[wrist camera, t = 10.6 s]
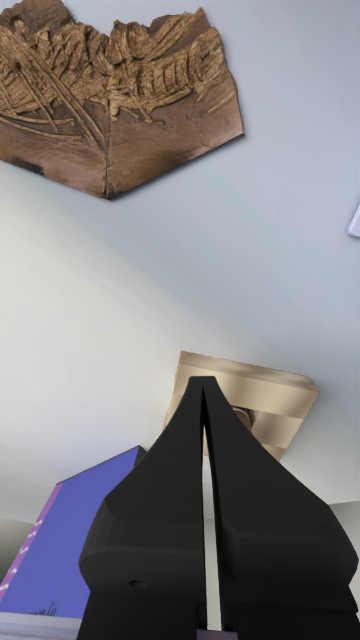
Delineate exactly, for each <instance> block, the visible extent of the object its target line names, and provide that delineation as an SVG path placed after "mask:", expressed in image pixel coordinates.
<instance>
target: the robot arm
mask: <svg viewBox="0 0 360 640" xmlns="http://www.w3.org/2000/svg"><path fill="white" fill-rule="evenodd" d="M348 234H349V235H351V236H355V237H359V238H360V204H359V207H358V209H357V211H356V213H355V215H354V217H353V219H352V222H351V224H350V226H349V228H348ZM204 427H205V434H206V441H207V447H208V454H209V461H210V468H211V476H212V488H213V503H214V518H215V532H216V547H217V563H218V579H219V595H220V611H221V627H222V631H215V630H207V598H206V571H205V545H204V544H205V543H204V515H203V487H202V466H203V442H204ZM358 561H359V559H358V556H357V554H356V551H355V550H354V548H353V545H352V543H351V541H350V540H349V538H348V536H347V534H346V532H345V531H344V529H343V528H342V526H341V524H340V523H339V521H338V520H337V518H336V516H335V515H334V513H333V512H332V510H331V509H330V507H329V505H327V504H326V503H325V502H324V501H323V500H321V499H320V498H319V497H318V496H317V495H315V494H314V493H313V492H312V491H310V490H309V489H308V488H307V487H306V486H304V485H303V484H302V483H301V482H300V481H299V480H298V479H296V478H295V477H294V476H293V475H292V474H291V473H290V472H289V471H288V470H287V469H285V468H284V467H283V466H282V465H281V464H280V463H279V462H278V461H277V460H276V459H275V458H274V457H273V456H272V455H271V454H270V453H269V452H268V451H267V450H266V449H265V448H264V447H263V446H262V444H261V443H260V442H259V441H258V440H257V439H256V438H255V437H254V436H253V434H252V433H251V432H250V431H249V430H248V428H247V427H246V426H245V425H244V423H243V422H242V421H241V419H240V418H239V417H238V415H237V414H236V412H235V411H234V410H233V408H232V407H231V405H230V403H229V402H228V400H227V399H226V397H225V395H224V394H223V392H222V390H221V388H220V386H219V384H218V382H217V380H216V377H215V376H190V377H189V380H188V384H187V387H186V389H185V392H184V394H183V396H182V399H181V401H180V403H179V405H178V407H177V409H176V411H175V412H174V414H173V416H172V418H171V419H170V421H169V423H168V424H167V426H166V427H165V429H164V430H163V432H162V433H161V435H160V436H159V438H158V439H157V440H156V442H155V443H154V444H153V446H152V447H151V448H150V449H149V451H148V452H147V453H146V454H145V455H144V457H143V458H142V459H141V460H140V461H139V462H138V463H137V465H136V466H135V467H134V468H133V469H132V470H131V471H130V472H129V473H128V474H127V476H126V477H125V478H123V479H122V480H121V481H120V482H119V483H118V484H117V485H116V486H115V487H114V488H113V489H112V490H111V491H110V492H109V493H108V494H107V495H106V496H105V497H104V499H103V501H102V503H101V505H100V507H99V509H98V511H97V513H96V515H95V517H94V520H93V522H92V524H91V526H90V529H89V531H88V534H87V537H86V540H85V543H84V546H83V549H82V552H81V555H80V557H79V561H78V565H79V569H80V573H81V575H82V577H83V579H84V581H85V582H86V584H87V586H88V588H89V590H90V594H89V598H88V601H87V604H86V608H85V611H84V615H83V618H82V619H77V618H65V617H54V616H42V615H31V614H19V613H8V612H0V640H360V622H359V619H358V617H357V615H356V613H357V612H358V607H357V604H356V601H355V599H354V597H353V595H352V592H351V590H350V588H349V586H348V585H349V584H350V582H351V580H352V578H353V576H354V574H355V572H356V570H357V565H358Z"/></svg>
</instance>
